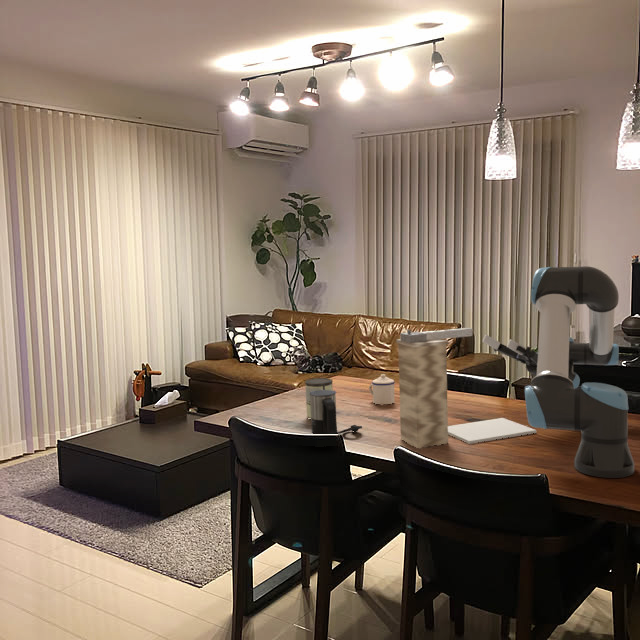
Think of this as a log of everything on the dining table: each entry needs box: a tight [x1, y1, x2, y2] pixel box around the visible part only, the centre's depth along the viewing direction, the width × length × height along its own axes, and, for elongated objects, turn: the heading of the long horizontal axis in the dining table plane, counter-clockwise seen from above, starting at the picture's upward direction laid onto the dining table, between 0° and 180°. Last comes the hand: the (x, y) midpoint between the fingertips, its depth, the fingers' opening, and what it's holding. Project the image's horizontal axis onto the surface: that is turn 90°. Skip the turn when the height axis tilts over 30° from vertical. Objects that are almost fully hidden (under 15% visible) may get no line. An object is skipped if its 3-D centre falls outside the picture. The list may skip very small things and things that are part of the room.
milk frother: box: [309, 390, 363, 435], centre depth 227 cm, size 14×16×15 cm
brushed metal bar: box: [399, 327, 473, 343], centre depth 214 cm, size 24×6×4 cm, turn 111°
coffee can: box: [304, 377, 334, 418], centre depth 250 cm, size 10×10×14 cm
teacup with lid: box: [368, 373, 396, 405], centre depth 271 cm, size 12×9×12 cm
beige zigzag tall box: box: [395, 339, 450, 449], centre depth 214 cm, size 12×12×33 cm
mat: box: [448, 417, 537, 445], centre depth 224 cm, size 26×18×1 cm
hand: (496, 340), depth 223 cm, fingers open, 13 cm apart
